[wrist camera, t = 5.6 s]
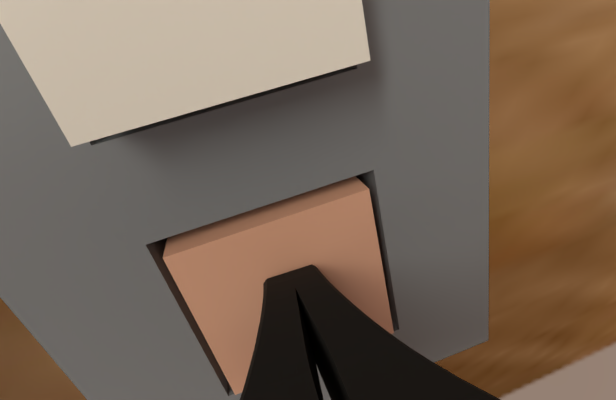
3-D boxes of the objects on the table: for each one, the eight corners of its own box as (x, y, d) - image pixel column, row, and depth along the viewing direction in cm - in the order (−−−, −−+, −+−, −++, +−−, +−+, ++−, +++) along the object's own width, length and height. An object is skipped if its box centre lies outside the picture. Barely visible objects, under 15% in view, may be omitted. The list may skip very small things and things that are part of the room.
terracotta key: (231, 342, 12) (235, 395, 10) (171, 218, 10) (162, 257, 8) (368, 291, 12) (394, 332, 11) (341, 163, 10) (369, 188, 8)
